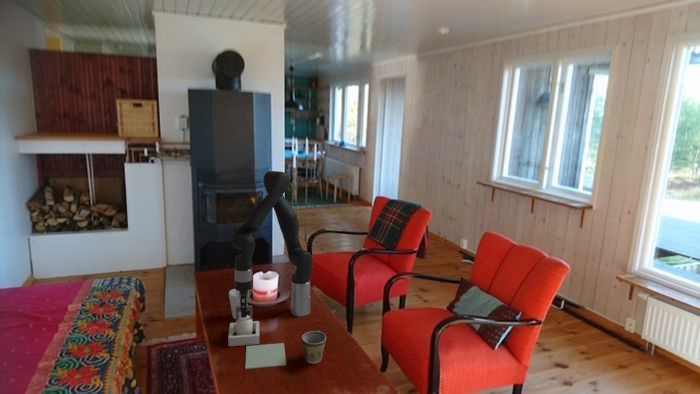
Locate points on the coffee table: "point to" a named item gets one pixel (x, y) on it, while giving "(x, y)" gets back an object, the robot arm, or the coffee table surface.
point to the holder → (243, 336)
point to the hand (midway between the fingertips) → (244, 313)
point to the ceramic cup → (313, 346)
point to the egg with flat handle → (244, 322)
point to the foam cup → (235, 301)
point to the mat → (265, 356)
